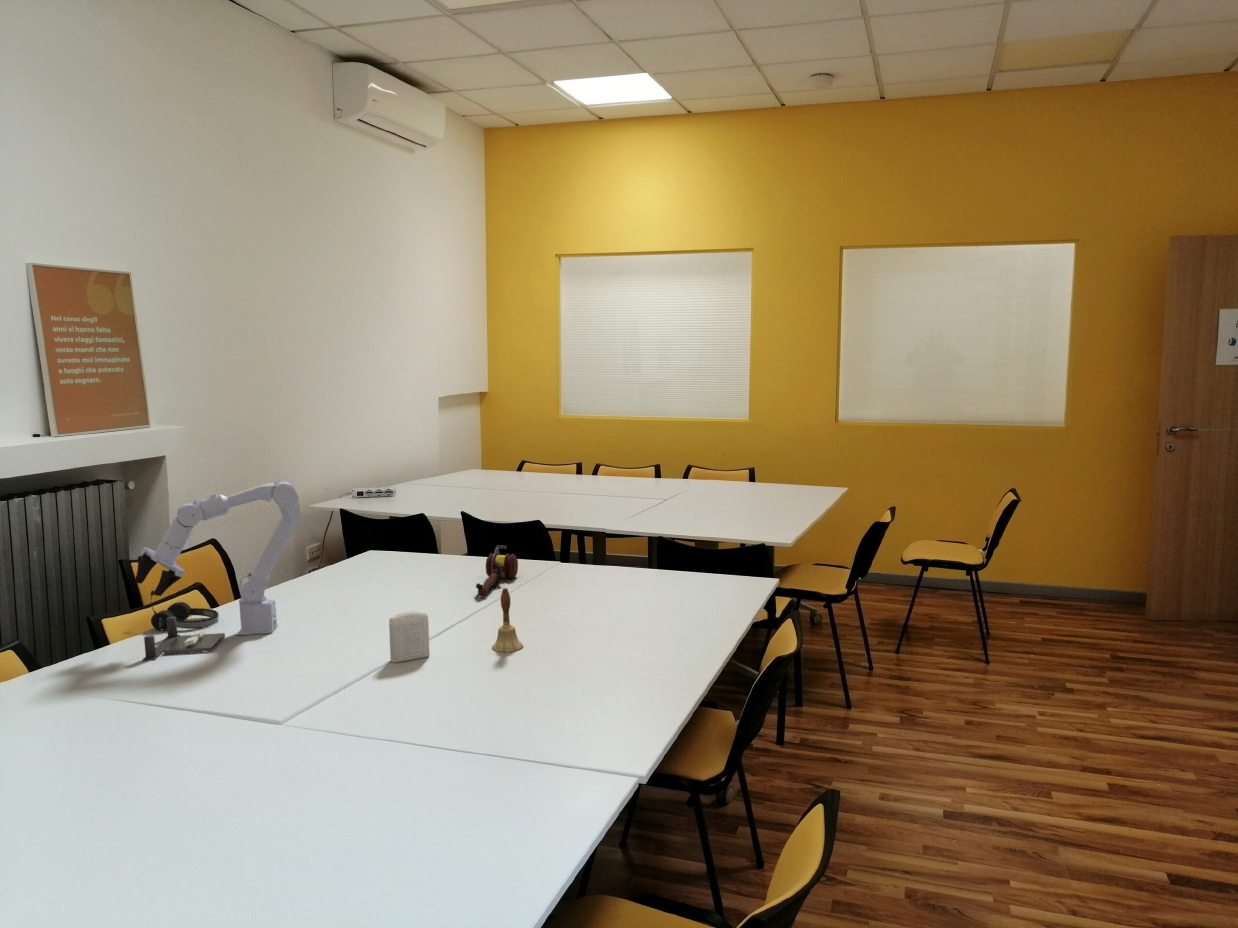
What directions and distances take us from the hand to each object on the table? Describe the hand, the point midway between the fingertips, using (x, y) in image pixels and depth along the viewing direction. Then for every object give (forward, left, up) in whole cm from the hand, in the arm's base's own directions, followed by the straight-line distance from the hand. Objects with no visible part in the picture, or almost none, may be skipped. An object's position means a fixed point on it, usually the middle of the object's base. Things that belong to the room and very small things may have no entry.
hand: (147, 588), depth 252 cm
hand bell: (-96, +23, -16) cm, 100 cm away
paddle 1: (-12, +7, -14) cm, 20 cm away
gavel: (-94, -45, -16) cm, 106 cm away
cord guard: (-4, +4, -16) cm, 17 cm away
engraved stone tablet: (-71, +27, -16) cm, 78 cm away
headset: (-3, -19, -16) cm, 25 cm away
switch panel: (-12, +4, -16) cm, 20 cm away
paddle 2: (-12, +1, -14) cm, 18 cm away
